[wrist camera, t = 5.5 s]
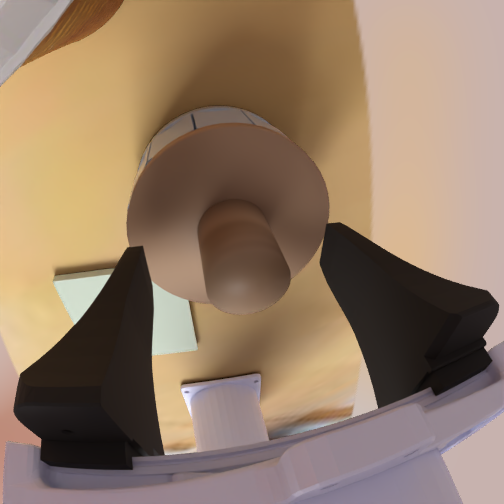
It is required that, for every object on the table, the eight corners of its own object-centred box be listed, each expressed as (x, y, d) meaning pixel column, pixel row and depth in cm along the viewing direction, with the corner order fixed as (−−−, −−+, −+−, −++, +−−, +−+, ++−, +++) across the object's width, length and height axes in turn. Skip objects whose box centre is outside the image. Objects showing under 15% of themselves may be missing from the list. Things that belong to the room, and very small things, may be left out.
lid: (303, 286, 18) (331, 345, 15) (140, 298, 16) (139, 367, 13) (339, 129, 13) (396, 168, 9) (120, 125, 11) (96, 166, 7)
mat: (197, 344, 26) (197, 349, 25) (95, 354, 24) (95, 360, 23) (181, 259, 20) (182, 265, 20) (54, 275, 18) (52, 281, 18)
